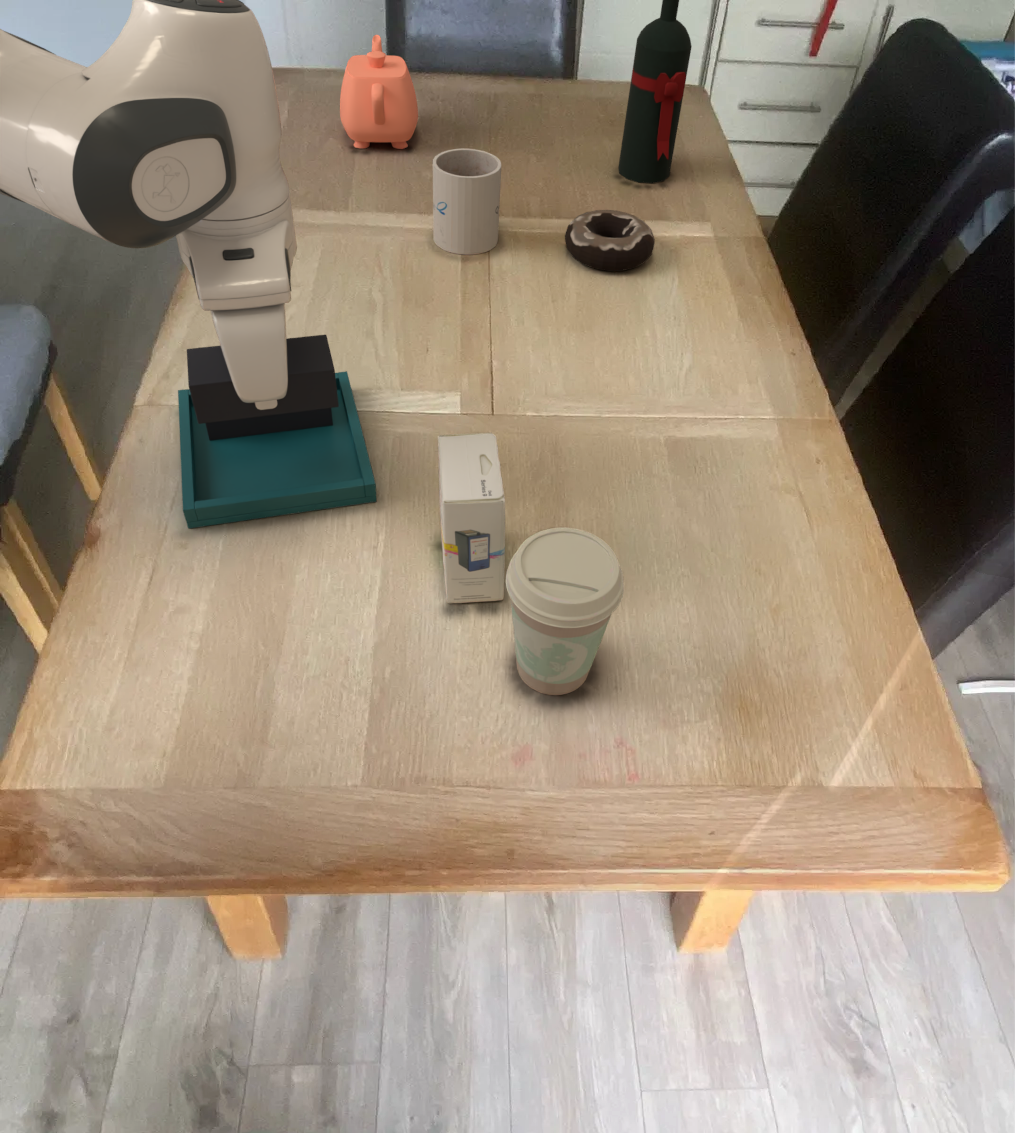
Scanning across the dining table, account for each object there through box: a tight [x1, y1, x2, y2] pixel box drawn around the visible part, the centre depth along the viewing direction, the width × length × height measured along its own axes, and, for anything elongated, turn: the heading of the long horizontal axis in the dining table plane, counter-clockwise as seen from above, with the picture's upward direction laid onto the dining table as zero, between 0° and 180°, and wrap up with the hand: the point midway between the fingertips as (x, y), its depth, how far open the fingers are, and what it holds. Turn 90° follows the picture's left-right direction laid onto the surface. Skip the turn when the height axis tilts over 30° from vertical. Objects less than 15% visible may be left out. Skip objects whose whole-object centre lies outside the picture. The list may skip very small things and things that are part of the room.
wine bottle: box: [618, 0, 692, 184], centre depth 126 cm, size 8×10×30 cm
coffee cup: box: [505, 526, 625, 696], centre depth 68 cm, size 8×8×12 cm
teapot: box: [339, 34, 419, 150], centre depth 137 cm, size 20×12×12 cm, turn 6°
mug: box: [432, 148, 502, 256], centre depth 118 cm, size 12×9×10 cm
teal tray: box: [177, 370, 378, 529], centre depth 88 cm, size 17×18×2 cm
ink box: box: [437, 432, 506, 604], centre depth 75 cm, size 9×5×12 cm, turn 6°
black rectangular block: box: [205, 408, 333, 441], centre depth 90 cm, size 12×6×4 cm, turn 105°
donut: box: [564, 209, 656, 272], centre depth 118 cm, size 12×12×4 cm
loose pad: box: [186, 334, 339, 424], centre depth 79 cm, size 12×6×4 cm, turn 105°
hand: (263, 381), depth 79 cm, fingers closed on loose pad, 5 cm apart
